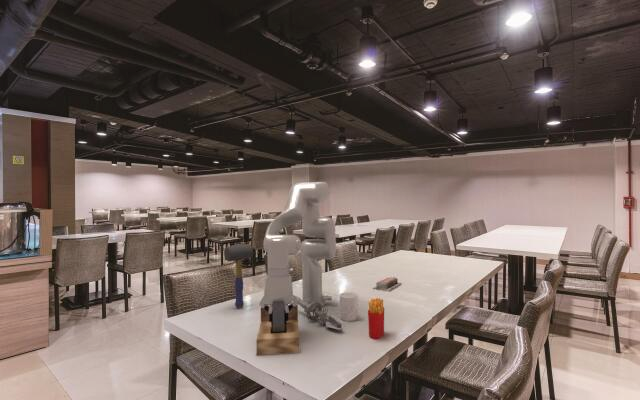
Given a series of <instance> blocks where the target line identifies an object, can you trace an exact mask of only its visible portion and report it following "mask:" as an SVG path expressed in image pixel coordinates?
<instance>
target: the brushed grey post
mask: <svg viewBox="0 0 640 400" xmlns="http://www.w3.org/2000/svg"><path fill="white" fill-rule="evenodd" d="M272 306H273V333H285V318H284V312H285V306H284V302H273V304H272Z"/></svg>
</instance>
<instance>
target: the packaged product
mask: <svg viewBox="0 0 640 400" xmlns="http://www.w3.org/2000/svg"><path fill="white" fill-rule="evenodd" d="M401 284H402V285H403V283H402V282H399V279H398V277H394V276H393V277H392V276H391V277H386V278H384V279H382V280H379V281H377V282H376V286H374V287H373V288H372V289H373V290H375V289H376V291H381V290H382V292H387V291H388V292H391V291H393V290H395V289H397V288H399V287H400V285H401ZM402 285H401V286H402ZM398 286H399V287H398ZM396 287H397V288H396Z"/></svg>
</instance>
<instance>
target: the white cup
mask: <svg viewBox="0 0 640 400" xmlns="http://www.w3.org/2000/svg"><path fill="white" fill-rule="evenodd" d="M338 297H339V308H340V310H339V311H340V319H341V320H342V321H345V322H354V321H356V320H357V318H358V306H359V295H358V294H357V293H355V292H347V291H346V292H341V293H339V295H338Z"/></svg>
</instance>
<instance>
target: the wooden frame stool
mask: <svg viewBox="0 0 640 400" xmlns="http://www.w3.org/2000/svg"><path fill="white" fill-rule="evenodd" d="M289 305H290V304H288V306H289ZM272 310H273V308H272ZM300 343H301V342H300V327H299V307H298V305H295V306H294V307H293V308H292V309H291V310H290V311H289V313H288V321H286V324H285V333H273V325H271V322H269V313H268V312H267V311H266V310H265V309H264V308H262V307H261V306H260V324H259V327H258V333H257V337H256V356H263V355H279V354H297V353H300V352H301V351H300V350H301V348H300V347H301V346H300Z"/></svg>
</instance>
